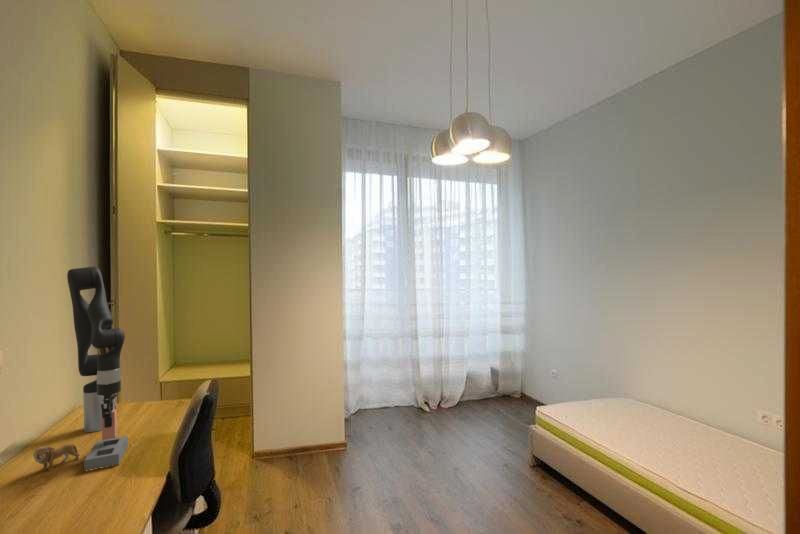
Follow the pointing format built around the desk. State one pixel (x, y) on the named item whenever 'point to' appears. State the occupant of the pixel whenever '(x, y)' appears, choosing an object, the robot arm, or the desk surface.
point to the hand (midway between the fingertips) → (109, 424)
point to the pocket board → (106, 453)
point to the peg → (110, 431)
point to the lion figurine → (54, 454)
